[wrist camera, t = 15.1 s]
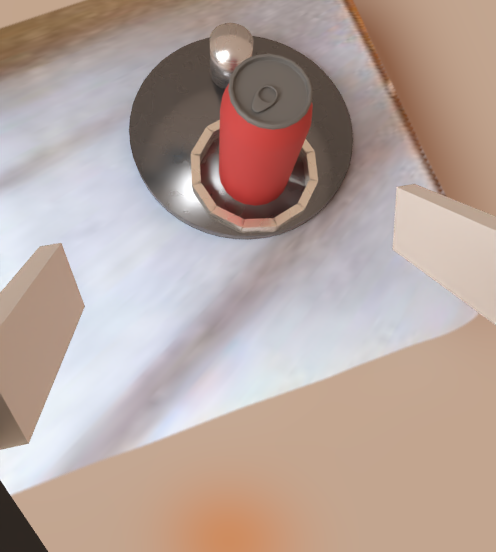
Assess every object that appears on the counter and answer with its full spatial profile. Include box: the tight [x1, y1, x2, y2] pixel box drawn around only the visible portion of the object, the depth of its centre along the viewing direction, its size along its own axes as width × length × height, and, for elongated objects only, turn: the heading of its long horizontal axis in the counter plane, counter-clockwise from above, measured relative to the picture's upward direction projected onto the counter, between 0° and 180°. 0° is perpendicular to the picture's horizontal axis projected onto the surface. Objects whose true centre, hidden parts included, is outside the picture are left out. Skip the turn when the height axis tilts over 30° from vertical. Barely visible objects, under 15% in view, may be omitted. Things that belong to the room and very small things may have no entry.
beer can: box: [219, 54, 313, 206], centre depth 30 cm, size 7×7×12 cm
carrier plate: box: [129, 23, 353, 239], centre depth 36 cm, size 22×22×5 cm
